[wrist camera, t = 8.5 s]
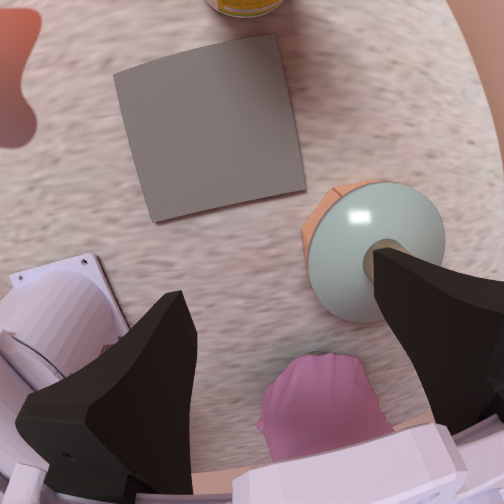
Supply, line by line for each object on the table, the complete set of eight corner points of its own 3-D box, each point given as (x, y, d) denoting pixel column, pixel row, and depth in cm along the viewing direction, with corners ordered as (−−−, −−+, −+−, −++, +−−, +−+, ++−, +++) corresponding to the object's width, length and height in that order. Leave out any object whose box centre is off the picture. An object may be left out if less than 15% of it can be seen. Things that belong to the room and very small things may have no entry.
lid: (320, 332, 21) (337, 378, 17) (290, 204, 17) (307, 234, 13) (438, 291, 20) (469, 327, 16) (434, 166, 16) (479, 185, 12)
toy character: (240, 340, 25) (254, 606, 7) (366, 315, 25) (475, 544, 6) (262, 423, 30) (280, 602, 12) (359, 404, 30) (413, 571, 12)
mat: (153, 220, 20) (152, 222, 20) (115, 75, 16) (113, 74, 16) (304, 187, 20) (305, 189, 20) (274, 34, 16) (275, 33, 16)
